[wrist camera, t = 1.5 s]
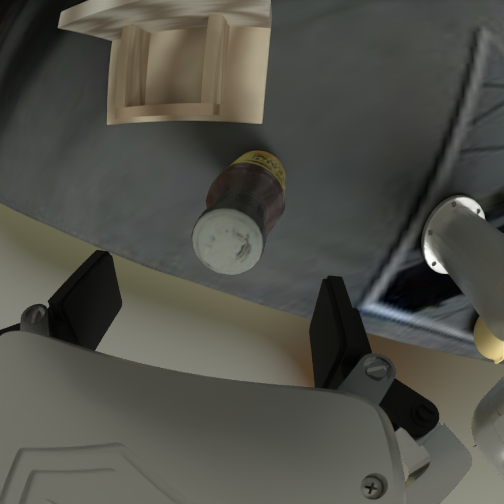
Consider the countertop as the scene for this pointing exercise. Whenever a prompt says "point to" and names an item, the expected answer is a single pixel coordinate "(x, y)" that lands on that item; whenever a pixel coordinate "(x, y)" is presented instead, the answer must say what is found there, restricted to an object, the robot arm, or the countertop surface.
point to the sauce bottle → (240, 213)
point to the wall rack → (181, 57)
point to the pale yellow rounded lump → (488, 342)
